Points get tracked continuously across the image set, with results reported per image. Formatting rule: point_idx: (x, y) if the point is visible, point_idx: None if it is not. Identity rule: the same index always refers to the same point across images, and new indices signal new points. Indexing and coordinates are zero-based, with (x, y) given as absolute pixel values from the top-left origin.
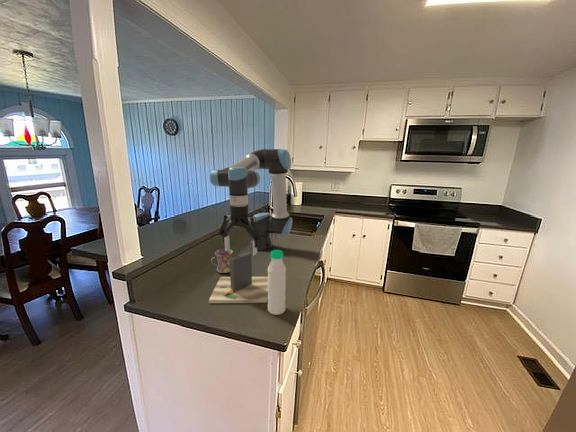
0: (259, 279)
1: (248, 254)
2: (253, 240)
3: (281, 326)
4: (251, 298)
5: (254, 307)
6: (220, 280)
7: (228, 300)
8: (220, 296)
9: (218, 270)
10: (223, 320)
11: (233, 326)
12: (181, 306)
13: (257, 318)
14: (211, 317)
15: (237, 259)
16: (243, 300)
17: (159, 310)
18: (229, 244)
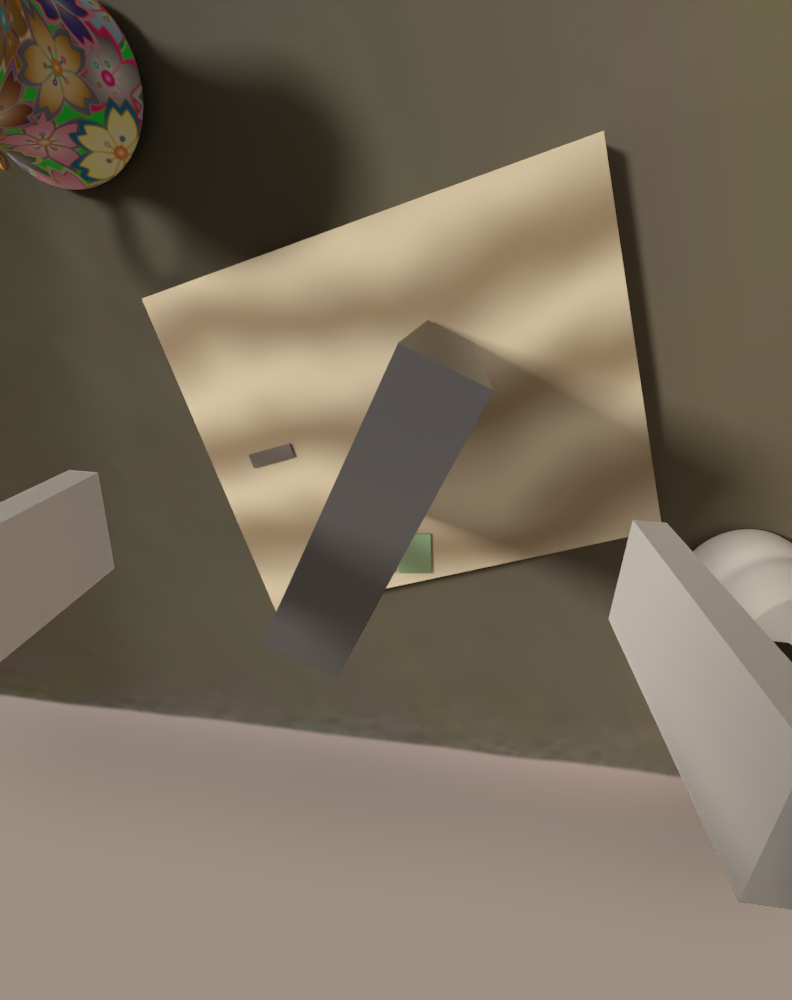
0: (517, 233)
1: (461, 447)
2: (768, 879)
3: None
4: (541, 540)
5: (577, 580)
6: (185, 361)
7: (393, 584)
8: None
9: (37, 174)
10: (444, 705)
11: (514, 732)
12: (163, 650)
13: (623, 664)
14: (372, 696)
15: (368, 619)
16: (491, 564)
17: (93, 694)
18: (29, 508)
